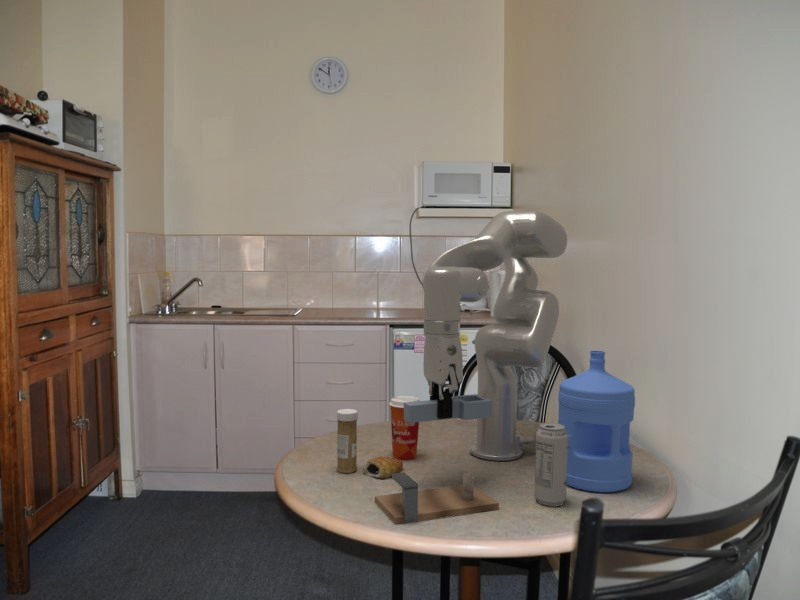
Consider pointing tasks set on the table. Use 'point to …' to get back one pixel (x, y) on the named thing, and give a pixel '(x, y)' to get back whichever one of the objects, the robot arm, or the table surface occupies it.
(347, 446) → the sprinkles bottle
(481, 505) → the board
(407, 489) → the keeper
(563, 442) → the energy drink can
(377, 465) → the pastry
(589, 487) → the water jug
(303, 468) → the table surface
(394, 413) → the paper cup
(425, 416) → the link
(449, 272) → the robot arm
